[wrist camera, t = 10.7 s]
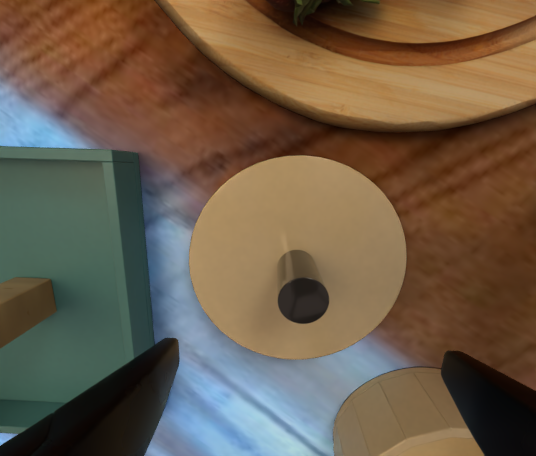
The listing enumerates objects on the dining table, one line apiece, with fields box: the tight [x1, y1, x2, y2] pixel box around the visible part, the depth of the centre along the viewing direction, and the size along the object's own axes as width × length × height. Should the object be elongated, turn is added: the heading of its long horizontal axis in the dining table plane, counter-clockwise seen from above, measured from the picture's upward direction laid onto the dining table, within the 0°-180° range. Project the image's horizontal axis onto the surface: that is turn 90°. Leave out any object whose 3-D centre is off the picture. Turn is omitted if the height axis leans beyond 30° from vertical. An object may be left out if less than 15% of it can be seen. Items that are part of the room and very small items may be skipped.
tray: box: [0, 146, 155, 434], centre depth 16 cm, size 19×15×3 cm
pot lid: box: [189, 155, 407, 359], centre depth 14 cm, size 13×13×5 cm
